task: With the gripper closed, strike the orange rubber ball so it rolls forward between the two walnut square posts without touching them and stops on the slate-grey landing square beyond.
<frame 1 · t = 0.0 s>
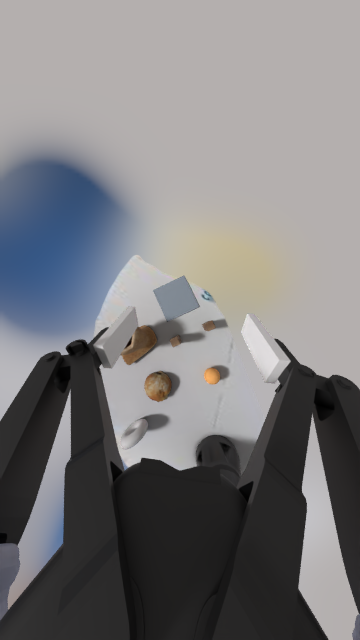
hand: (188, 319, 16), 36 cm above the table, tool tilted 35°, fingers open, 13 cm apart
ball: (212, 375, 47), on the table
bread roll: (159, 384, 51), on the table
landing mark: (175, 298, 52), on the table
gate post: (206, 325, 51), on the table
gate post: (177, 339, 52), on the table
brown boot: (138, 340, 53), on the table
donut: (139, 421, 51), on the table
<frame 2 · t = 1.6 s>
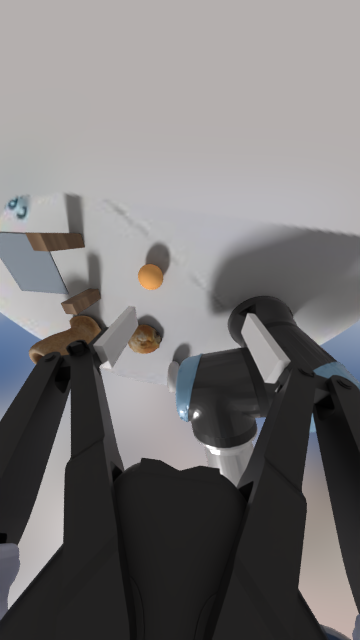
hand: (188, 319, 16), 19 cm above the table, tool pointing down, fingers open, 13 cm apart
ball: (150, 277, 29), on the table
bread roll: (147, 335, 43), on the table
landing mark: (30, 266, 33), on the table
brown boot: (92, 332, 45), on the table
donut: (175, 364, 50), on the table
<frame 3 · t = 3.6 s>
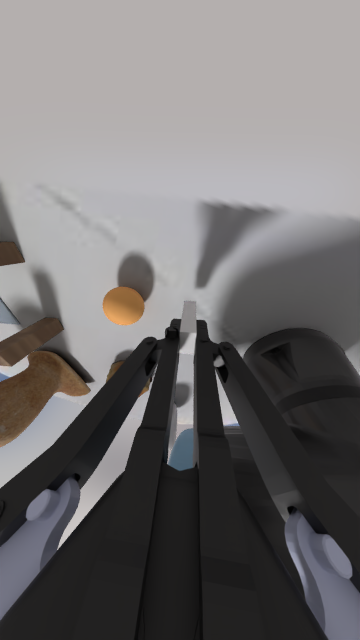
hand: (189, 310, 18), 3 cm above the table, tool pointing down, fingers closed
ball: (124, 306, 19), on the table
bread roll: (132, 371, 33), on the table
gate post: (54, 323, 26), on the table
brown boot: (62, 367, 34), on the table
donut: (172, 402, 39), on the table
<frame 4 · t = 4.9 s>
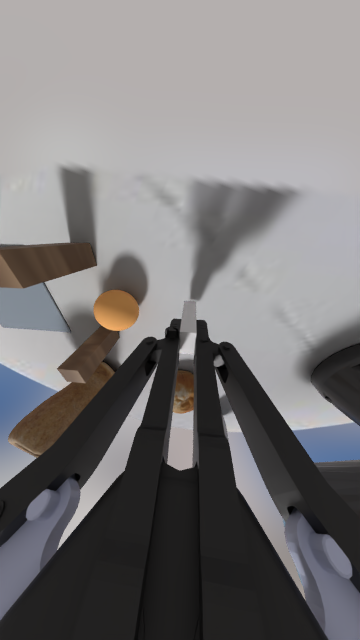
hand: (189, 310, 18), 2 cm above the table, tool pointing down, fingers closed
ball: (117, 310, 18), on the table
bread roll: (182, 380, 31), on the table
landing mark: (12, 294, 21), on the table
brown boot: (104, 376, 32), on the table
donut: (215, 411, 37), on the table
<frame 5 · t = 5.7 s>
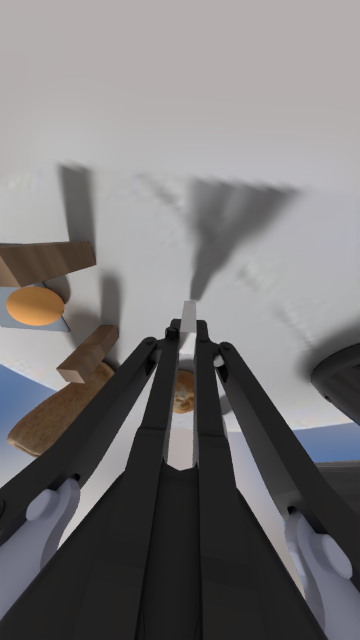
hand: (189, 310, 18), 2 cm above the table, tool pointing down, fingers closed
ball: (38, 306, 19), on the table
bread roll: (182, 380, 31), on the table
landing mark: (10, 294, 21), on the table
brown boot: (104, 375, 32), on the table
donut: (215, 411, 37), on the table
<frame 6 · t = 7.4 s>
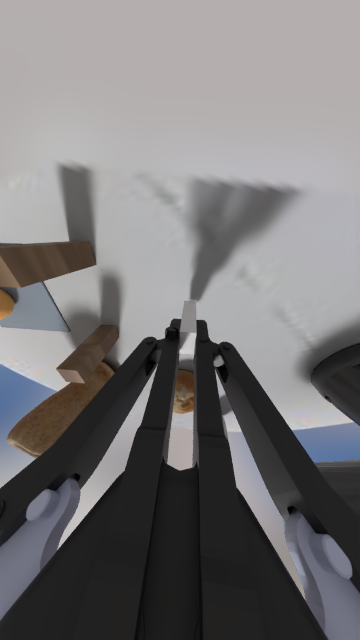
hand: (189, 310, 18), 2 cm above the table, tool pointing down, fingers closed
bread roll: (183, 380, 31), on the table
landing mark: (10, 294, 21), on the table
brown boot: (104, 376, 32), on the table
donut: (215, 411, 37), on the table
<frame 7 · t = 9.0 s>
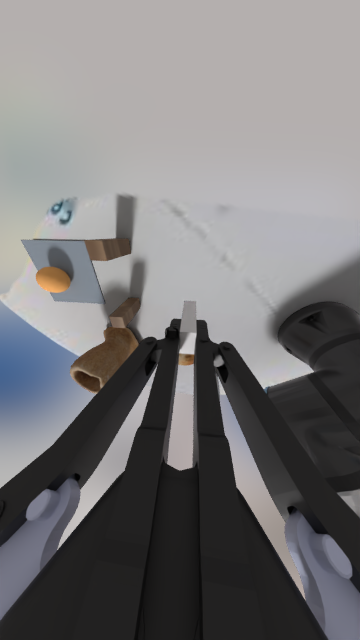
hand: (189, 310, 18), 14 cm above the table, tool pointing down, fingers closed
ball: (54, 280, 29), on the table
bread roll: (185, 344, 40), on the table
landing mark: (68, 275, 31), on the table
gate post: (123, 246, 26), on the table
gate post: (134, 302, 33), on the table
brown boot: (124, 342, 42), on the table
donut: (210, 373, 47), on the table
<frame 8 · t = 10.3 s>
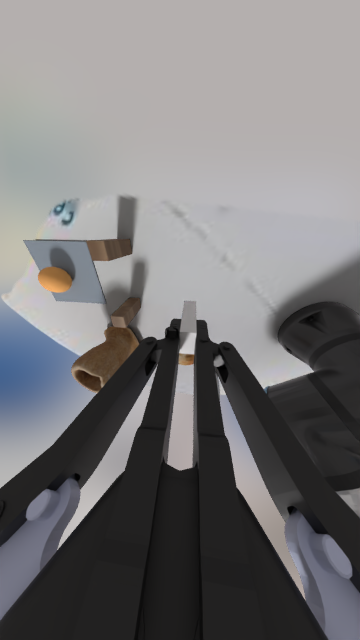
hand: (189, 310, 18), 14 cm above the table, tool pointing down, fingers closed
ball: (56, 280, 29), on the table
bread roll: (186, 344, 41), on the table
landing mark: (69, 275, 31), on the table
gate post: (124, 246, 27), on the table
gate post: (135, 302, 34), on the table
brown boot: (125, 342, 42), on the table
donut: (210, 373, 47), on the table
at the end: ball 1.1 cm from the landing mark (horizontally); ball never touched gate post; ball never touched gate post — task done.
